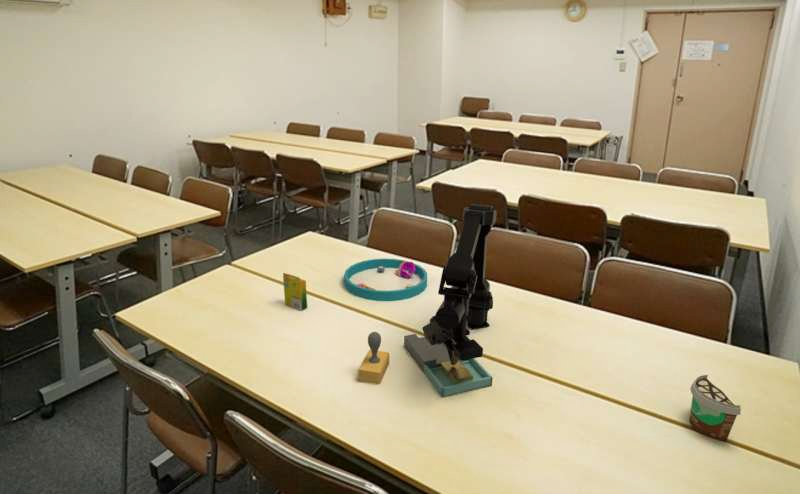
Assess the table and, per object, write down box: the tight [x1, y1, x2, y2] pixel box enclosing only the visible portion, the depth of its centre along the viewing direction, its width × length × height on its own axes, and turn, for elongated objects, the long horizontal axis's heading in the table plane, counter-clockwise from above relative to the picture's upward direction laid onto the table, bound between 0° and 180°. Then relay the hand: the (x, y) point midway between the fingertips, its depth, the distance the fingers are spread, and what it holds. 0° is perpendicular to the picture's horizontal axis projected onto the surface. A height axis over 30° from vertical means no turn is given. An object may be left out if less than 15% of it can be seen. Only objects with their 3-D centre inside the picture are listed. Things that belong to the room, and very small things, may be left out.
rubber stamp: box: [357, 331, 390, 385], centre depth 136 cm, size 10×6×12 cm, turn 167°
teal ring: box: [343, 258, 428, 302], centre depth 190 cm, size 30×30×6 cm
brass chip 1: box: [440, 361, 465, 378], centre depth 138 cm, size 5×4×2 cm
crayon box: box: [282, 272, 308, 312], centre depth 170 cm, size 7×3×12 cm, turn 58°
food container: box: [688, 374, 742, 441], centre depth 119 cm, size 12×6×10 cm, turn 5°
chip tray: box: [423, 358, 493, 399], centre depth 135 cm, size 14×11×2 cm
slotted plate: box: [403, 333, 468, 374], centre depth 146 cm, size 14×14×4 cm
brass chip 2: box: [448, 367, 473, 385], centre depth 134 cm, size 5×4×2 cm
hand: (453, 364), depth 137 cm, fingers closed
